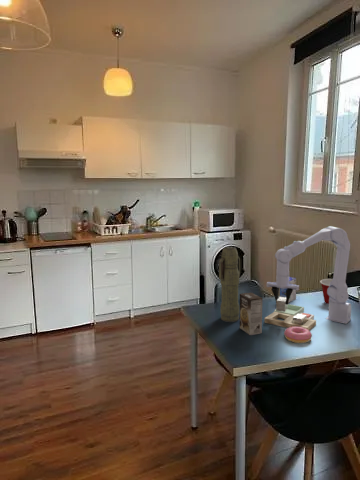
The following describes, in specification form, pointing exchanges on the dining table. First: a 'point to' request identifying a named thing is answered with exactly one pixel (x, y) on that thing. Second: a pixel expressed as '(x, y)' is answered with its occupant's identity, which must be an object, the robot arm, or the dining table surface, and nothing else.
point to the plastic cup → (325, 289)
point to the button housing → (310, 317)
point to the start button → (307, 314)
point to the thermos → (229, 284)
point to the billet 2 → (299, 319)
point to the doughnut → (298, 334)
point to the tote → (292, 310)
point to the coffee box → (251, 313)
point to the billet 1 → (281, 304)
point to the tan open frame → (287, 321)
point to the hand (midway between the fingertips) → (282, 303)
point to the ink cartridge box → (283, 291)
